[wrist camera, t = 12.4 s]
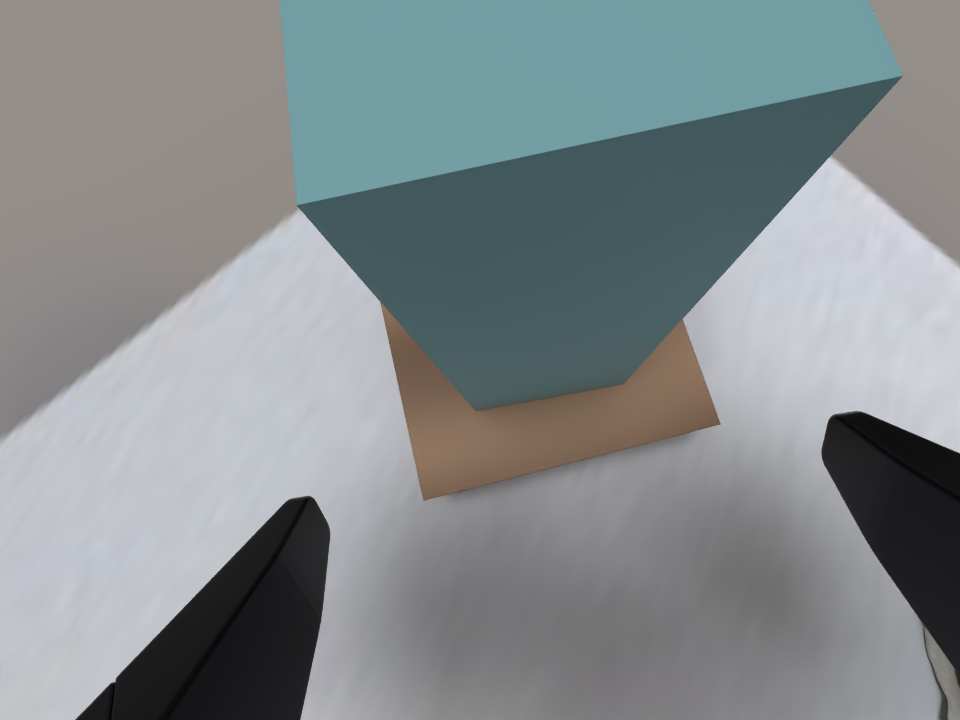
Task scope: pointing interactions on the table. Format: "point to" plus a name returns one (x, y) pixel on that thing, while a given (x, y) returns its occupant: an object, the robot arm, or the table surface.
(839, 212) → the table surface
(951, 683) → the pastry
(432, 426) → the walnut block
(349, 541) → the table surface
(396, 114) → the teal pillar
